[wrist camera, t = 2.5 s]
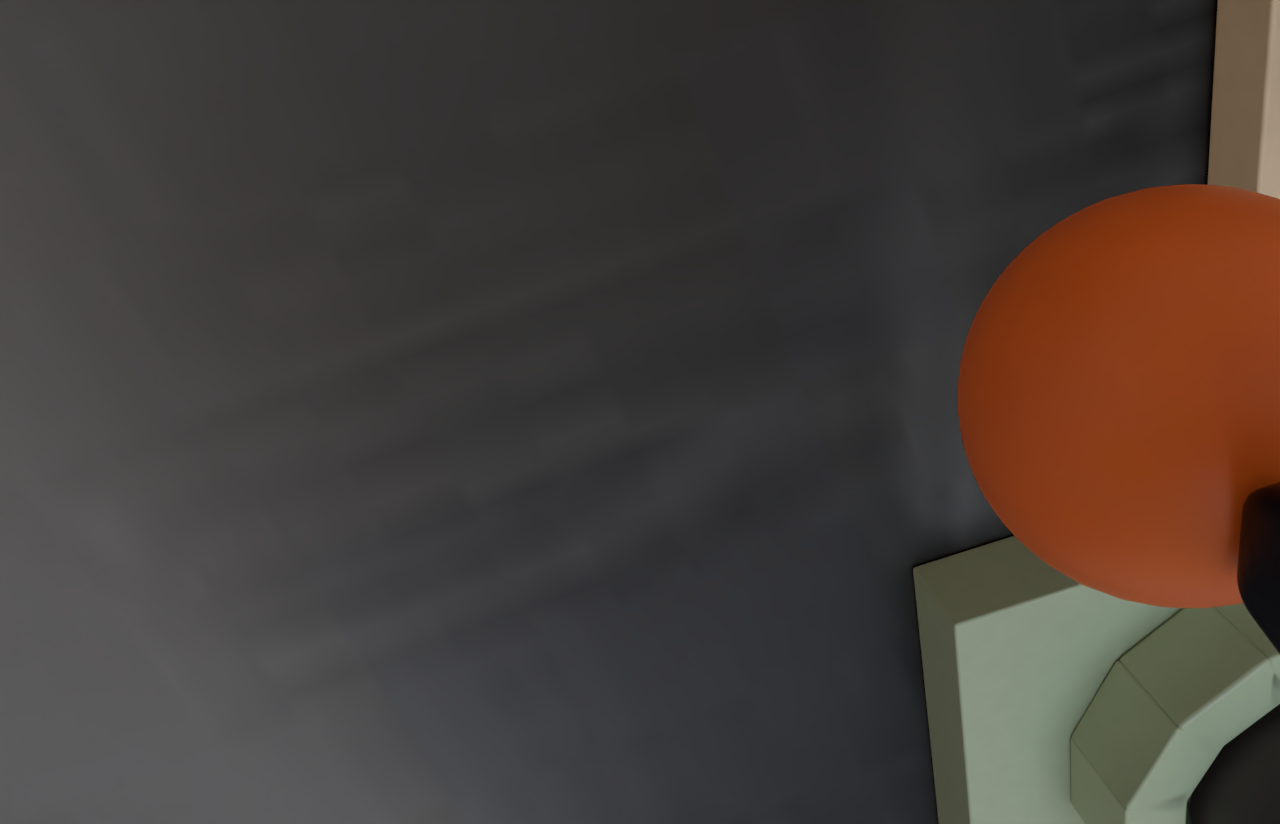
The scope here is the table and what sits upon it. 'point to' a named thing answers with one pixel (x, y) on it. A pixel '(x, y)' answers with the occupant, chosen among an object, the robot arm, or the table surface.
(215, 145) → the table surface
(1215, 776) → the power button
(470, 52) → the table surface
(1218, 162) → the beige pivot stand
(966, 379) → the switch lever
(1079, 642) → the plug block
